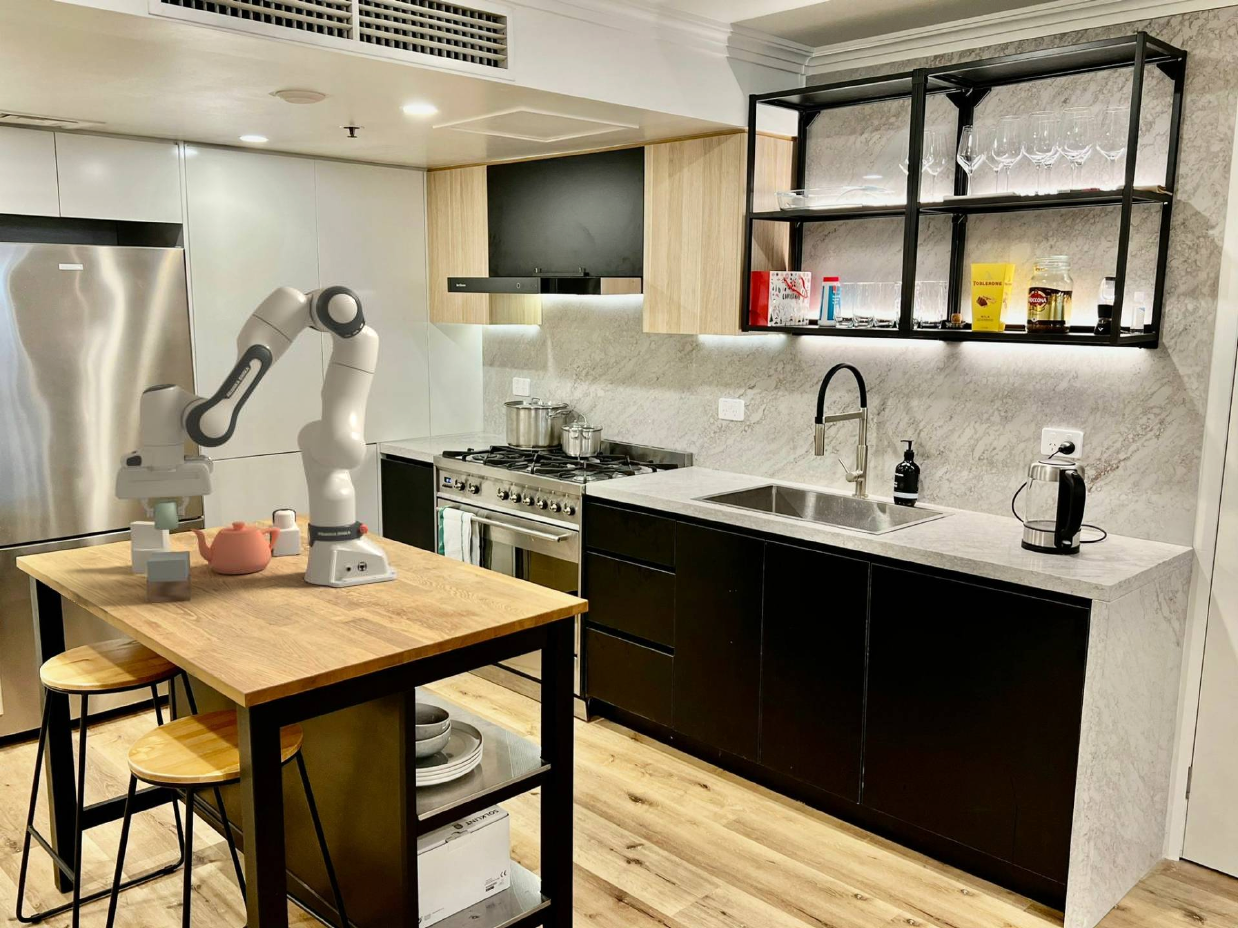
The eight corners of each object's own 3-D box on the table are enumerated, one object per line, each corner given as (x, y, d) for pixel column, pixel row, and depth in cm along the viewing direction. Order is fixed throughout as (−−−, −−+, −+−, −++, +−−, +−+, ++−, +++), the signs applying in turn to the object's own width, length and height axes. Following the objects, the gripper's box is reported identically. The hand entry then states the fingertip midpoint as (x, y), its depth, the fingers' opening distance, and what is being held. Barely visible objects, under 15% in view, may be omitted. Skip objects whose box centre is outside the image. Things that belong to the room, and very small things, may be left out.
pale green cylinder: (178, 524, 238) (177, 499, 237) (178, 529, 234) (177, 503, 233) (154, 525, 236) (153, 500, 235) (154, 530, 232) (153, 504, 231)
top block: (190, 571, 241) (189, 551, 241) (186, 580, 234) (185, 559, 233) (153, 573, 239) (152, 552, 238) (148, 582, 232) (146, 561, 231)
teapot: (198, 582, 250) (196, 533, 248) (184, 568, 262) (182, 521, 260) (289, 570, 262) (287, 523, 260) (272, 558, 274) (270, 513, 272)
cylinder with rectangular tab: (177, 565, 265) (175, 520, 263) (159, 574, 256) (156, 527, 254) (144, 564, 266) (142, 518, 264) (124, 573, 257) (122, 526, 255)
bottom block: (191, 591, 243) (190, 570, 242) (190, 601, 235) (189, 580, 234) (149, 594, 240) (148, 573, 239) (147, 605, 232) (146, 583, 231)
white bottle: (270, 551, 282) (268, 508, 280) (297, 549, 285) (295, 506, 283) (273, 557, 275) (271, 513, 273) (300, 554, 278) (299, 511, 276)
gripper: (212, 452, 239) (214, 510, 241) (114, 455, 231) (117, 516, 233) (212, 456, 233) (215, 516, 236) (112, 460, 226) (116, 521, 228)
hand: (166, 516), depth 235 cm, fingers closed on pale green cylinder, 5 cm apart
